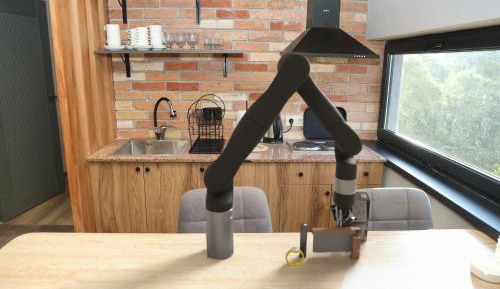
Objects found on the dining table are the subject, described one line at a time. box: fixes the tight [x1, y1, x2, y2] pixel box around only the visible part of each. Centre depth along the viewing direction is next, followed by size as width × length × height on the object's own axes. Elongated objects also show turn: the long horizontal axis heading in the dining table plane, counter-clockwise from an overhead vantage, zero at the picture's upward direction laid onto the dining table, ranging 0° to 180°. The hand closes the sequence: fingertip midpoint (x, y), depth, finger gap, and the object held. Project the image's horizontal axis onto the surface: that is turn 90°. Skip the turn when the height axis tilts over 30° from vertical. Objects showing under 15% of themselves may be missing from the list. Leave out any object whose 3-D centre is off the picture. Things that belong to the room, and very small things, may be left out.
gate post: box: [298, 222, 308, 259], centre depth 118 cm, size 2×2×12 cm
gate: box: [311, 226, 361, 254], centre depth 118 cm, size 16×2×8 cm, turn 93°
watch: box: [285, 246, 305, 267], centre depth 113 cm, size 6×3×6 cm, turn 90°
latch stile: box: [349, 235, 362, 261], centre depth 117 cm, size 2×2×8 cm
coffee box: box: [350, 191, 371, 241], centre depth 132 cm, size 9×6×16 cm
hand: (341, 234), depth 123 cm, fingers closed
